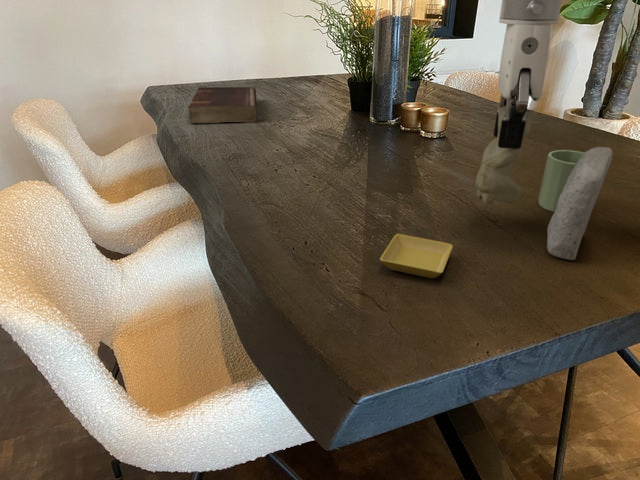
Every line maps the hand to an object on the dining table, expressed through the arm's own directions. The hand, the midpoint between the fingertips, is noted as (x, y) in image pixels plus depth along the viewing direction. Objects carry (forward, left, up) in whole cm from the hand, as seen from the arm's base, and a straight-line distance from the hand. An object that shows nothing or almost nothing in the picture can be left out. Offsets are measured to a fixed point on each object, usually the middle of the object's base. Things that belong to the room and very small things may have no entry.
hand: (506, 140), depth 75 cm
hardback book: (+73, -67, -14) cm, 100 cm away
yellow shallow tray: (+12, +16, -14) cm, 25 cm away
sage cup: (-13, -10, -14) cm, 22 cm away
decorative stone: (-10, +6, -14) cm, 18 cm away
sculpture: (0, 0, -10) cm, 10 cm away
